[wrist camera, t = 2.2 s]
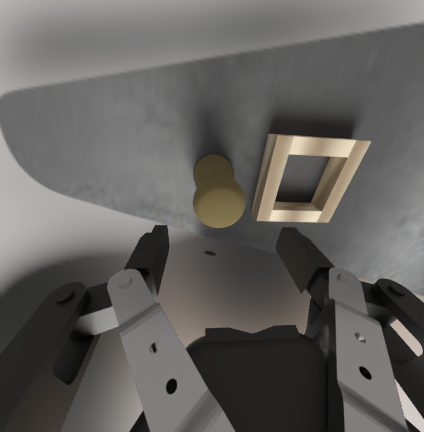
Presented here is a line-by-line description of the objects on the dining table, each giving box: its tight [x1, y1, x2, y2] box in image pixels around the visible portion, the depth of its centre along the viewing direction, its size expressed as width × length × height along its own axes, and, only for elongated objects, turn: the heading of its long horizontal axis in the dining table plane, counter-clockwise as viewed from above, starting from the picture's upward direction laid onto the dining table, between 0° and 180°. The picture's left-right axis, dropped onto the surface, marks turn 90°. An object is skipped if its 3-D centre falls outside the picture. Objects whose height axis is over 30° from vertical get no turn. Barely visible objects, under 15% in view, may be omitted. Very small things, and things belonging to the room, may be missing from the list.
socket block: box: [252, 134, 371, 222], centre depth 23 cm, size 12×12×3 cm
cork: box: [193, 154, 245, 228], centre depth 19 cm, size 6×6×11 cm
